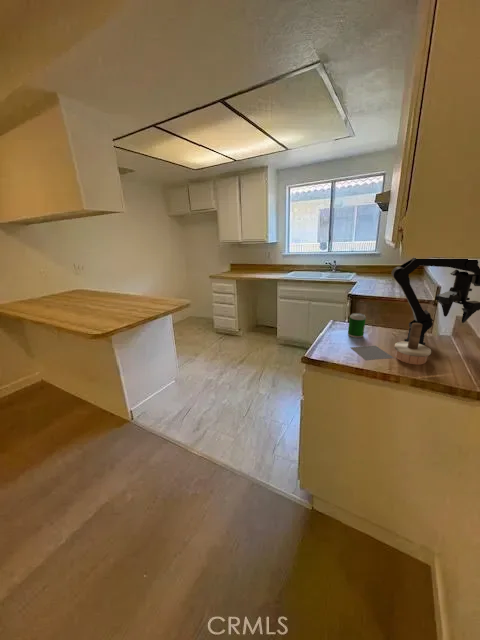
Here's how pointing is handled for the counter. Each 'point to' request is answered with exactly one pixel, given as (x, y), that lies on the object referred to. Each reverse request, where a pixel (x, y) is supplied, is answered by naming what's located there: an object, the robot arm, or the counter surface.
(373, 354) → the mat
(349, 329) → the soda can
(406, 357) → the bowl
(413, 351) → the lid
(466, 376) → the counter surface
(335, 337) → the counter surface
